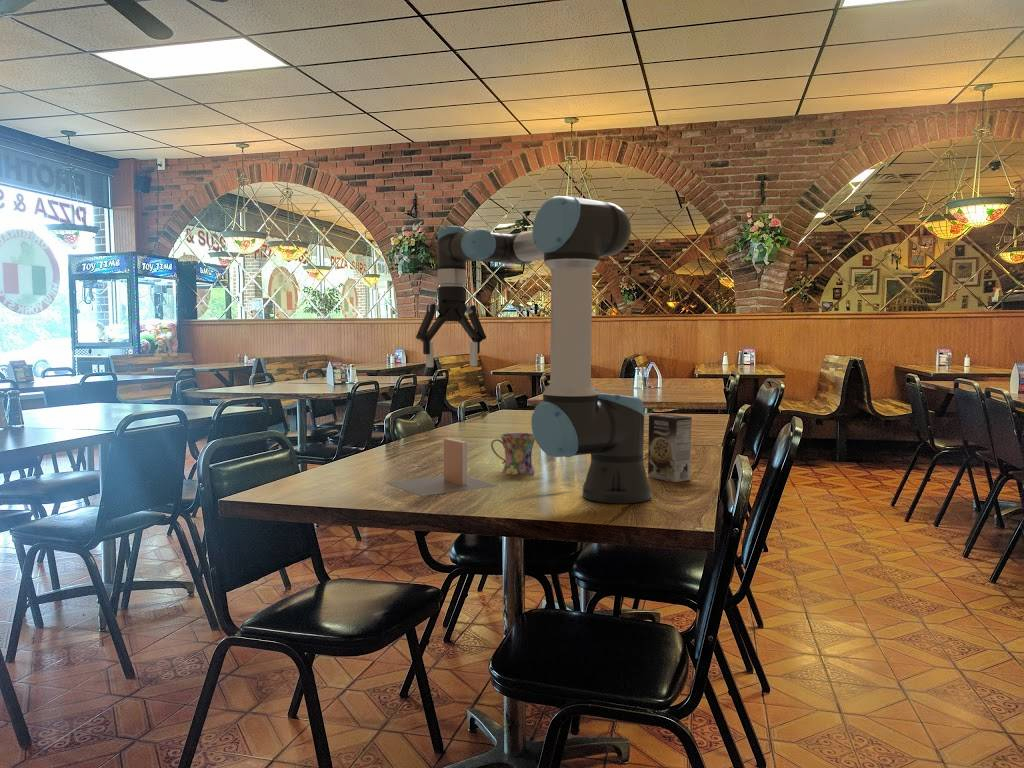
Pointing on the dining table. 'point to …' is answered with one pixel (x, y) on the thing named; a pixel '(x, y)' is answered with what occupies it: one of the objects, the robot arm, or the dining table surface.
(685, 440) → the cookie box
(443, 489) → the slate board
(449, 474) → the tile
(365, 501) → the dining table surface
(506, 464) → the mug
